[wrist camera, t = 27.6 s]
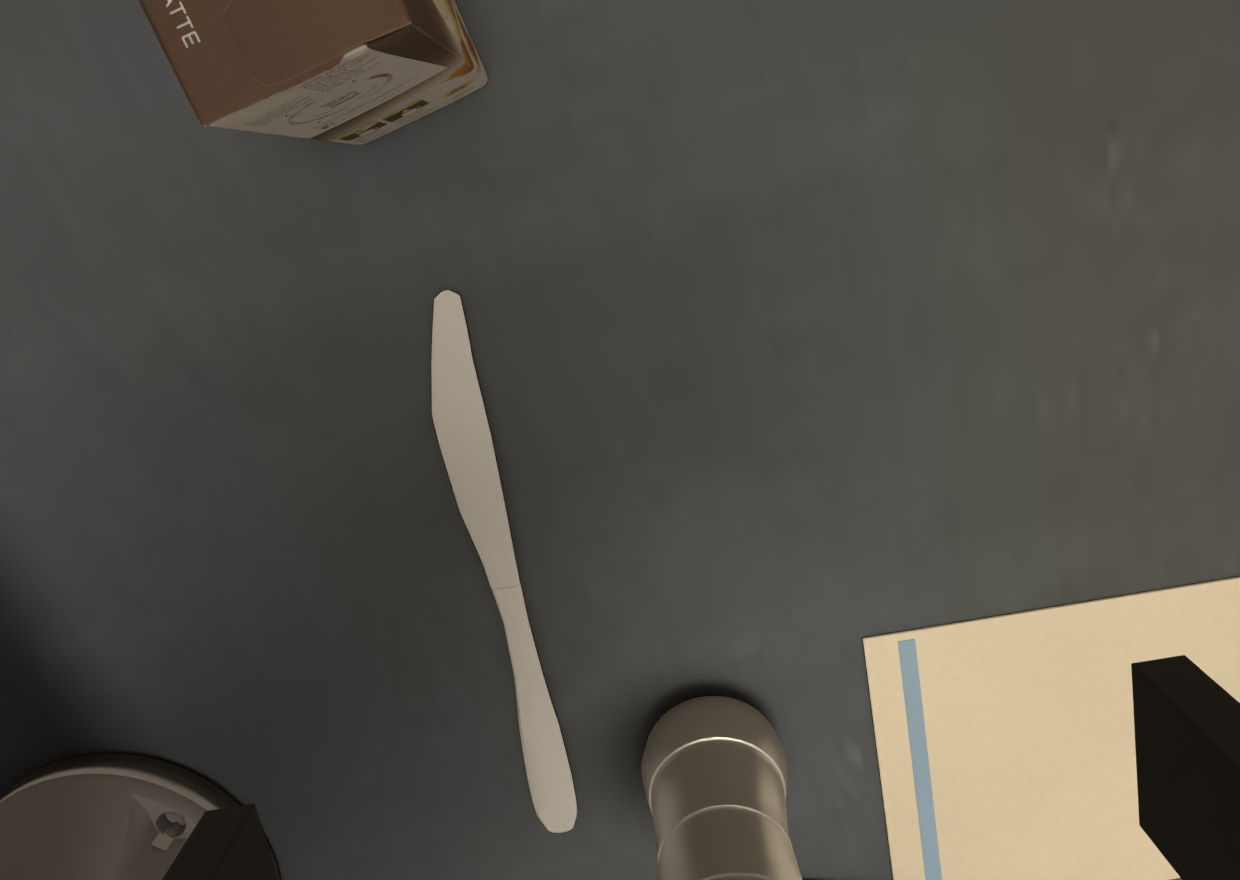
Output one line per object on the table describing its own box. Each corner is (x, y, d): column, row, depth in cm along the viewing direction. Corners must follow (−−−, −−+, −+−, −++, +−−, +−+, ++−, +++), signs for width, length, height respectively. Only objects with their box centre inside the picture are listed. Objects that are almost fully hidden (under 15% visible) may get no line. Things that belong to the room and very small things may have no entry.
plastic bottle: (781, 791, 50) (878, 1184, 31) (644, 800, 50) (655, 1197, 31) (775, 673, 48) (874, 1011, 29) (634, 683, 49) (639, 1026, 29)
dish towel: (897, 917, 52) (899, 921, 52) (862, 637, 48) (863, 639, 48) (1333, 852, 51) (1336, 855, 51) (1335, 560, 47) (1338, 562, 47)
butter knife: (522, 839, 50) (582, 833, 50) (405, 297, 43) (472, 286, 43) (524, 831, 51) (583, 825, 50) (408, 295, 44) (475, 284, 44)
